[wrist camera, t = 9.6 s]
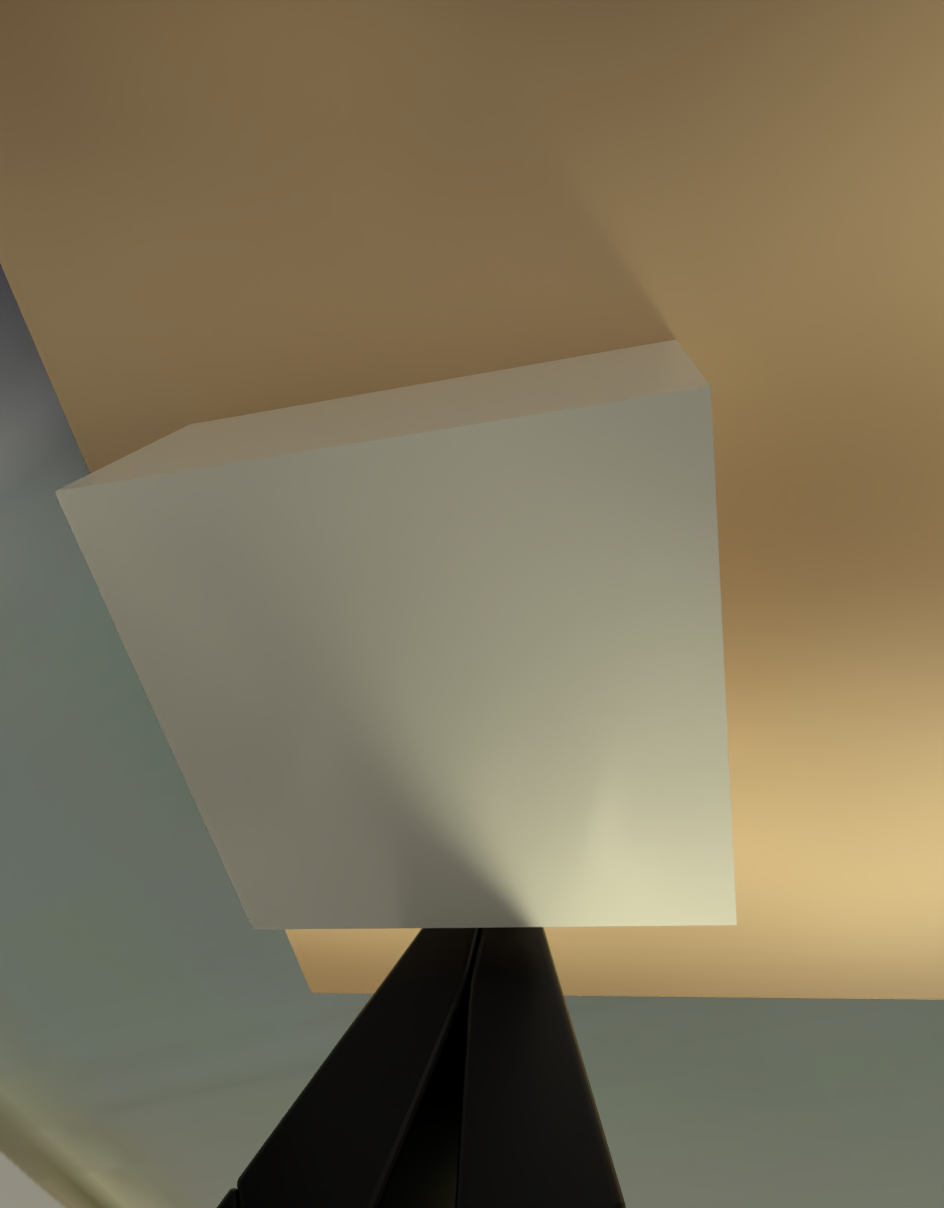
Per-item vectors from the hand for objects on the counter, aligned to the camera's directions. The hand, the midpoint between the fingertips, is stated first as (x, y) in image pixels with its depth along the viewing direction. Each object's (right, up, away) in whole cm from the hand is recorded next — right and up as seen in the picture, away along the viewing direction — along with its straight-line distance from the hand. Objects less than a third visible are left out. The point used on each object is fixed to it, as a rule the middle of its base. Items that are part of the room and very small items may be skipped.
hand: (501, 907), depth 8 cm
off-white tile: (0, +3, -1) cm, 3 cm away
